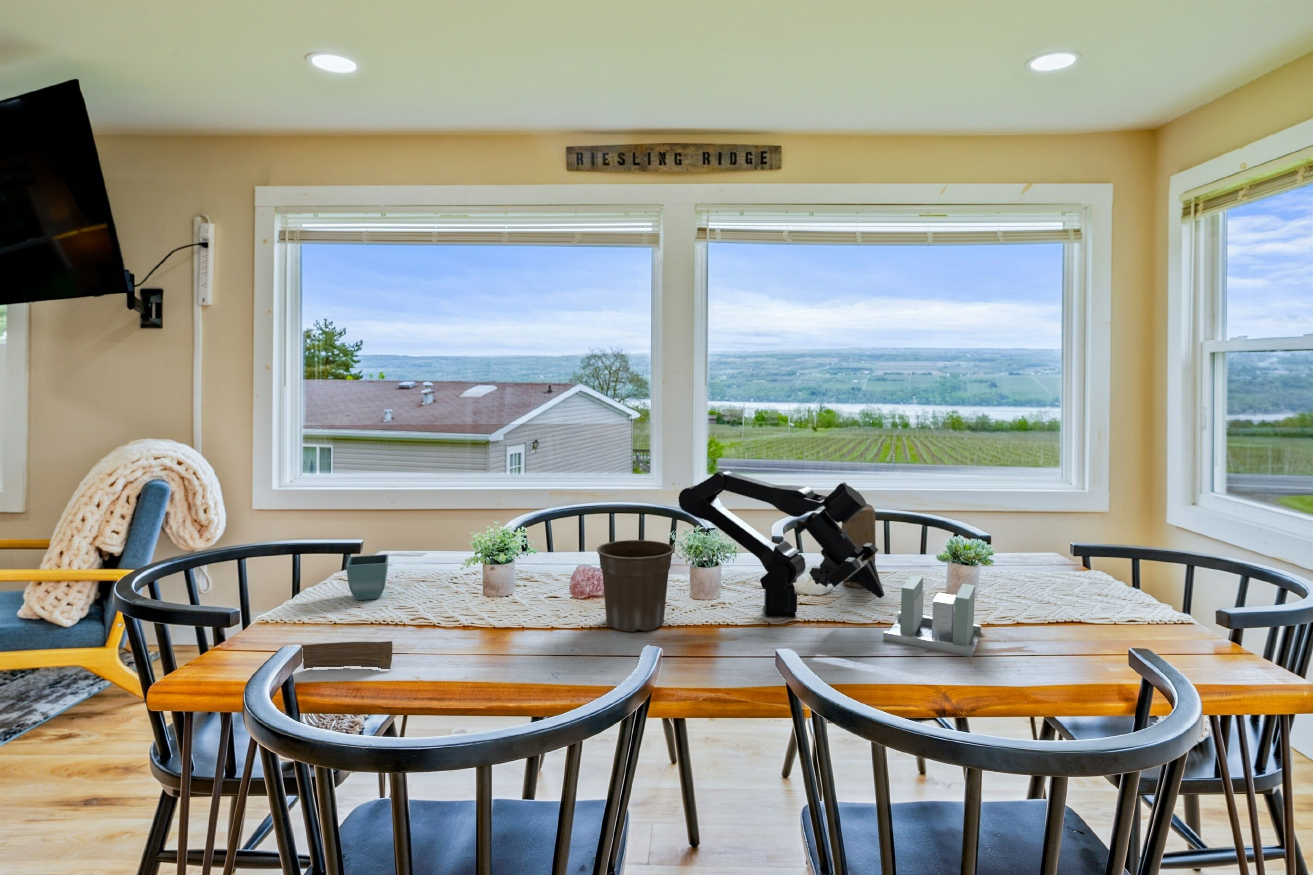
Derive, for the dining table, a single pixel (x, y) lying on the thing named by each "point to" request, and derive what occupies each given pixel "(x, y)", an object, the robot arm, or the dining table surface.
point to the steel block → (943, 617)
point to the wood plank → (348, 654)
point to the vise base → (925, 638)
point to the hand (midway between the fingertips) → (882, 596)
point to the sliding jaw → (912, 605)
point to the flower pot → (367, 576)
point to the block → (861, 532)
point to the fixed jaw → (964, 615)
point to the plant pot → (635, 583)
